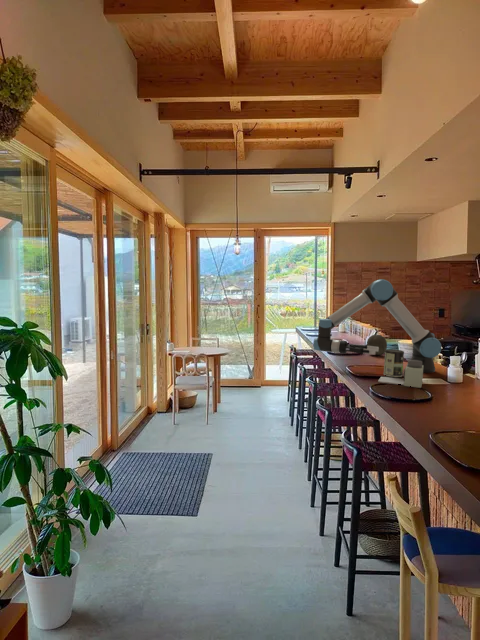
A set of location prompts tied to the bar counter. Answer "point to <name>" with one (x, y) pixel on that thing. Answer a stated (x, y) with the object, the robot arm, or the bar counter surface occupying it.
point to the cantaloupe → (377, 343)
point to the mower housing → (408, 375)
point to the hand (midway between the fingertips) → (377, 350)
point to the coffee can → (393, 363)
